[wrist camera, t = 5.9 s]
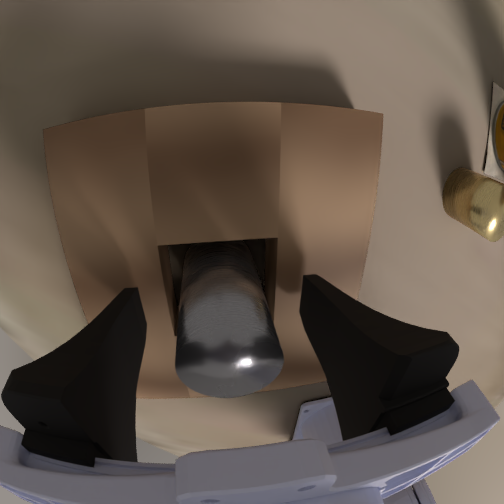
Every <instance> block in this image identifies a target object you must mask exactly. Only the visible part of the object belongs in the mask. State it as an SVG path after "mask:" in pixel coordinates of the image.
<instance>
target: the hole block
mask: <svg viewBox="0 0 504 504" xmlns="http://www.w3.org/2000/svg"><path fill="white" fill-rule="evenodd" d="M382 129H383V114H382V113H376V112H370V111H363V110H357V109H349V108H342V107H333V106H324V105H313V104H299V103H281V102H212V103H194V104H181V105H170V106H160V107H152V108H144V109H137V110H130V111H124V112H118V113H112V114H106V115H101V116H96V117H91V118H87V119H82V120H78V121H74V122H69V123H65V124H62V125H58V126H54V127H50V128H47V129H43V136H44V147H45V157H46V165H47V172H48V179H49V185H50V191H51V197H52V202H53V207H54V212H55V217H56V221H57V226H58V230H59V234H60V238H61V242H62V246H63V249H64V253H65V257H66V260H67V264H68V267H69V270H70V273H71V277H72V280H73V283H74V286H75V289H76V292H77V295H78V297H79V300H80V303H81V306H82V308H83V311H84V314H85V316H86V319H87V321H88V324H89V323H90V322H91V321H92V320H93V319H94V318H95V317H96V316H98V315H99V314H100V313H101V312H102V311H103V310H104V308H105V307H106V306H107V305H108V304H109V303H110V302H111V301H112V300H113V299H114V298H115V297H116V296H117V295H118V294H119V293H120V292H121V291H122V290H123V289H124V288H134V287H138V290H139V294H140V298H141V302H142V306H143V310H144V314H145V318H146V321H147V333H146V344H145V349H144V354H143V359H142V363H141V368H140V373H139V379H138V384H137V391H136V398H148V399H166V398H198V397H211V396H207V395H203V394H200V393H198V392H195V391H194V390H192V389H190V388H189V387H187V386H186V385H185V384H184V383H183V382H182V381H181V380H180V379H179V377H178V375H177V373H176V370H175V356H176V341H177V327H178V315H179V307H177V302H176V297H175V291H174V285H173V279H172V272H171V266H170V259H169V252H168V245H172V244H186V243H201V242H215V241H231V240H246V239H262V238H266V258H265V298H266V301H267V304H268V307H269V311H270V314H271V317H272V320H273V323H274V326H275V329H276V332H277V335H278V339H279V342H280V345H281V348H282V351H283V355H284V363H283V367H282V369H281V372H280V373H279V375H278V376H277V377H276V378H275V379H274V380H273V381H272V382H271V383H270V384H269V385H267V386H266V387H264V388H262V389H261V390H258V391H256V392H264V391H271V390H278V389H285V388H291V387H297V386H303V385H308V384H314V383H319V382H324V381H327V379H326V376H325V374H324V371H323V369H322V366H321V364H320V362H319V360H318V358H317V356H316V354H315V351H314V349H313V347H312V345H311V343H310V341H309V339H308V337H307V334H306V332H305V330H304V327H303V324H302V320H301V317H300V313H299V308H300V299H301V290H302V281H303V275H311V274H317V275H319V276H320V277H322V278H323V279H325V280H326V281H328V282H329V283H331V284H332V285H334V286H335V287H337V288H338V289H340V290H341V291H343V292H344V293H346V294H347V295H349V296H350V297H352V298H354V299H355V300H357V299H358V295H359V290H360V286H361V281H362V276H363V272H364V267H365V262H366V257H367V251H368V246H369V240H370V234H371V228H372V222H373V216H374V209H375V202H376V194H377V186H378V177H379V167H380V157H381V144H382ZM256 392H254V393H256Z"/></svg>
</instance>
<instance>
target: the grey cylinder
mask: <svg viewBox="0 0 504 504" xmlns="http://www.w3.org/2000/svg"><path fill="white" fill-rule="evenodd" d="M283 363H284V355H283V351H282V348H281V345H280V342H279V339H278V335H277V332H276V329H275V326H274V323H273V320H272V317H271V314H270V311H269V307H268V304H267V301H266V298H265V295H264V292H263V289H262V286H261V283H260V279H259V276H258V273H257V270H256V267H255V264H254V261H253V258H252V255H251V252H250V250H249V248H248V246H247V245H246V244H245V243H244V242H243V241H242V240H231V241H215V242H201V243H192V244H191V245H190V247H189V248H188V250H187V252H186V254H185V258H184V266H183V275H182V284H181V294H180V304H179V315H178V327H177V341H176V356H175V370H176V373H177V375H178V377H179V379H180V380H181V381H182V382H183V383H184V384H185V385H186V386H187V387H189V388H190V389H192V390H194V391H195V392H198V393H200V394H203V395H207V396H211V397H219V398H232V397H239V396H244V395H248V394H251V393H254V392H256V391H258V390H261V389H262V388H264V387H266V386H267V385H269V384H270V383H271V382H272V381H273V380H274V379H275V378H276V377H277V376H278V375H279V373H280V372H281V369H282V367H283Z"/></svg>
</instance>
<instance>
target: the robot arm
mask: <svg viewBox="0 0 504 504" xmlns="http://www.w3.org/2000/svg"><path fill="white" fill-rule="evenodd" d="M299 313H300V317H301V320H302V324H303V327H304V330H305V332H306V334H307V337H308V339H309V341H310V343H311V345H312V347H313V349H314V351H315V354H316V356H317V358H318V360H319V362H320V364H321V366H322V369H323V371H324V374H325V376H326V379H327V382H328V385H329V389H330V392H331V395H332V397H330V398H325V399H321V400H316V401H311V402H306V403H304V404H302V405H301V408H300V412H299V416H298V420H297V424H296V428H295V432H294V435H293V439H292V440H291V441H285V442H279V443H273V444H266V445H259V446H252V447H243V448H233V449H221V450H206V451H199V452H191V453H188V454H186V455H184V456H181V457H179V458H178V459H176V462H175V464H159V463H158V464H157V463H141V462H137V453H136V431H135V412H136V391H137V384H138V379H139V373H140V368H141V363H142V359H143V354H144V349H145V344H146V333H147V321H146V318H145V314H144V310H143V306H142V302H141V298H140V294H139V290H138V287H134V288H124V289H123V290H122V291H121V292H120V293H119V294H118V295H117V296H116V297H115V298H114V299H113V300H112V301H111V302H110V303H109V304H108V305H107V306H106V307H105V308H104V310H103V311H102V312H101V313H100V314H99V315H98V316H96V317H95V318H94V319H93V320H92V321H91V322H90V323H89V324H88V325H87V326H86V327H85V328H84V329H82V330H81V331H80V332H79V333H78V334H76V335H75V336H74V337H72V338H71V339H70V340H68V341H67V342H66V343H64V344H63V345H61V346H59V347H58V348H56V349H55V350H53V351H52V352H50V353H48V354H47V355H45V356H43V357H41V358H39V359H37V360H35V361H33V362H32V363H29V364H26V365H24V366H22V367H19V368H17V369H14V370H12V372H11V374H10V376H9V378H8V380H7V382H6V384H5V387H4V389H3V391H2V394H1V397H2V401H3V403H4V405H5V406H6V408H7V409H8V410H9V412H10V413H11V414H12V415H13V416H14V417H15V418H16V419H17V420H18V421H19V423H20V424H21V425H22V426H23V427H24V428H25V432H24V435H23V434H21V433H20V432H18V431H15V430H12V429H9V428H6V427H3V426H1V425H0V485H1V486H2V487H3V488H5V489H7V490H8V491H10V492H11V493H13V494H15V495H16V496H18V497H20V498H21V499H23V500H26V501H28V502H31V503H33V504H436V502H435V500H434V497H433V495H432V493H431V491H430V489H429V487H428V485H427V483H426V481H425V479H424V478H425V477H427V476H429V475H430V474H432V473H434V472H435V471H437V470H438V469H440V468H442V467H443V466H445V465H446V464H448V463H450V462H451V461H453V460H454V459H456V458H457V457H459V456H461V455H462V454H464V453H465V452H466V451H468V450H469V449H470V448H472V447H473V446H474V445H475V444H476V443H477V442H478V441H479V440H480V439H481V438H482V437H483V436H484V435H485V434H486V433H487V432H488V431H489V430H490V429H491V428H492V427H493V426H494V425H495V424H496V423H497V422H498V421H499V420H500V417H499V416H498V414H497V413H496V411H495V410H494V408H493V407H492V405H491V404H490V403H489V401H488V400H487V398H486V397H485V396H484V394H483V393H482V392H481V390H480V389H479V387H478V386H477V385H476V383H475V382H474V381H473V380H470V381H468V382H466V383H464V384H462V385H460V386H458V387H457V388H455V389H454V390H453V391H451V392H449V391H448V389H447V387H448V386H449V382H448V381H447V379H446V376H447V375H448V373H449V371H450V370H451V368H452V366H453V365H454V363H455V361H456V359H457V357H458V353H459V346H458V344H457V343H456V342H455V341H454V340H453V338H452V337H451V336H450V335H449V334H448V333H447V332H443V331H437V330H432V329H426V328H422V327H418V326H415V325H411V324H408V323H405V322H402V321H399V320H396V319H394V318H391V317H388V316H386V315H384V314H382V313H379V312H377V311H375V310H373V309H371V308H369V307H367V306H366V305H364V304H362V303H360V302H359V301H357V300H355V299H354V298H352V297H350V296H349V295H347V294H346V293H344V292H343V291H341V290H340V289H338V288H337V287H335V286H334V285H332V284H331V283H329V282H328V281H326V280H325V279H323V278H322V277H320V276H319V275H317V274H311V275H303V281H302V290H301V299H300V308H299ZM411 486H412V488H413V490H412V488H411Z"/></svg>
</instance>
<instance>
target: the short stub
mask: <svg viewBox="0 0 504 504" xmlns="http://www.w3.org/2000/svg"><path fill="white" fill-rule="evenodd" d="M443 206H444V210H445V212H446V213H447V214H448V215H449V216H450V217H452V218H454V219H455V220H457V221H459V222H460V223H462V224H464V225H465V226H467V227H469V228H470V229H472V230H473V231H475V232H477V233H478V234H480V235H481V236H483V237H484V238H486V239H487V240H489V241H491V242H496V241H498V240H499V239H500V238H501V237H502V236H503V235H504V184H503V183H500V182H498V181H496V180H493V179H491V178H489V177H486V176H484V175H481V174H479V173H476V172H474V171H471V170H468V169H466V168H458V169H456V170H454V171H453V172H452V173H451V174H450V176H449V177H448V179H447V181H446V183H445V186H444V190H443Z"/></svg>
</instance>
